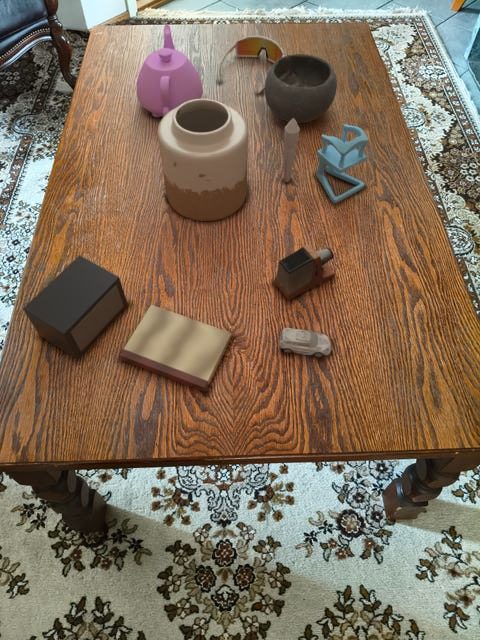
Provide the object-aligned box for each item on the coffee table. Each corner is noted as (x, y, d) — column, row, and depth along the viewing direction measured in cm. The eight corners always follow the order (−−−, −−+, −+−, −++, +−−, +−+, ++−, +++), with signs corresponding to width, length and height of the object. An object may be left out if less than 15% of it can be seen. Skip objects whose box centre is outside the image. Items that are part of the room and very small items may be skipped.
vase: (261, 203, 95) (266, 126, 81) (189, 233, 91) (181, 157, 77) (222, 156, 102) (219, 78, 88) (153, 183, 98) (139, 105, 84)
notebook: (120, 360, 77) (118, 354, 75) (152, 309, 82) (150, 303, 81) (205, 392, 74) (204, 387, 73) (232, 337, 79) (232, 332, 78)
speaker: (78, 360, 77) (64, 334, 70) (39, 335, 79) (22, 308, 73) (128, 305, 82) (120, 277, 76) (90, 284, 85) (79, 254, 78)
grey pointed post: (295, 184, 98) (303, 121, 86) (282, 186, 98) (288, 124, 86) (290, 175, 100) (298, 112, 88) (277, 178, 99) (283, 115, 87)
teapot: (143, 77, 118) (134, 23, 107) (204, 76, 118) (201, 22, 108) (135, 131, 107) (125, 77, 96) (202, 131, 107) (199, 76, 97)
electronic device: (335, 278, 86) (342, 249, 79) (288, 302, 83) (291, 274, 77) (319, 261, 88) (325, 231, 81) (273, 284, 85) (275, 255, 79)
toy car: (329, 359, 77) (333, 349, 75) (277, 352, 78) (279, 342, 75) (331, 339, 79) (334, 328, 77) (280, 332, 80) (281, 322, 77)
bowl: (250, 120, 109) (251, 75, 101) (285, 86, 116) (289, 42, 108) (310, 144, 105) (316, 100, 96) (343, 108, 112) (351, 64, 103)
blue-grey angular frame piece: (335, 164, 101) (346, 111, 91) (364, 187, 98) (379, 135, 88) (306, 179, 99) (314, 126, 89) (334, 204, 95) (346, 151, 85)
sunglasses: (292, 62, 121) (293, 43, 117) (266, 104, 115) (266, 85, 111) (238, 48, 124) (237, 29, 120) (211, 88, 119) (209, 70, 114)
